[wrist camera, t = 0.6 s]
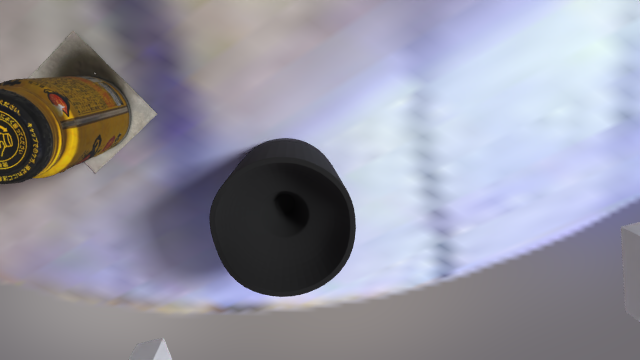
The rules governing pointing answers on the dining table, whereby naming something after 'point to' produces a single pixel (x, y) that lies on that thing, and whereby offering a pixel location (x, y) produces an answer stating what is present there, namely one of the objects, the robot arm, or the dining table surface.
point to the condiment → (66, 115)
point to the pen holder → (283, 220)
